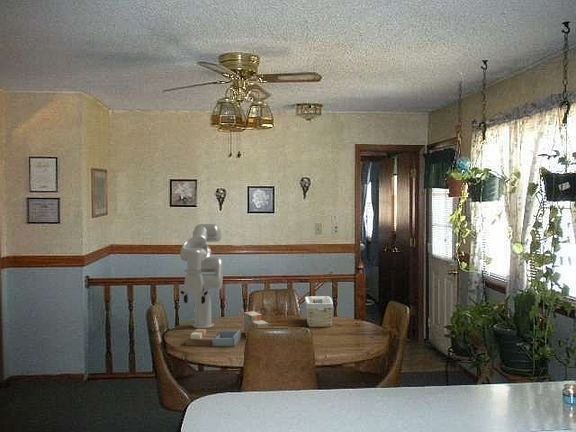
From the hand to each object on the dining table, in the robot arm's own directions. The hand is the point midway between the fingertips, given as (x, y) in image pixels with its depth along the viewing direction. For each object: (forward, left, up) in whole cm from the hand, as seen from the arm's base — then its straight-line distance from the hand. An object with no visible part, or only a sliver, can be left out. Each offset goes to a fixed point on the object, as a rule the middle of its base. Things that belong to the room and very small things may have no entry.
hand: (194, 303), depth 326 cm
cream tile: (+7, +3, -17) cm, 19 cm away
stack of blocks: (-11, +32, -21) cm, 40 cm away
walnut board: (+3, +5, -20) cm, 21 cm away
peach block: (-1, +3, -17) cm, 18 cm away
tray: (+3, +18, -20) cm, 28 cm away
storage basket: (-47, +65, -21) cm, 83 cm away
